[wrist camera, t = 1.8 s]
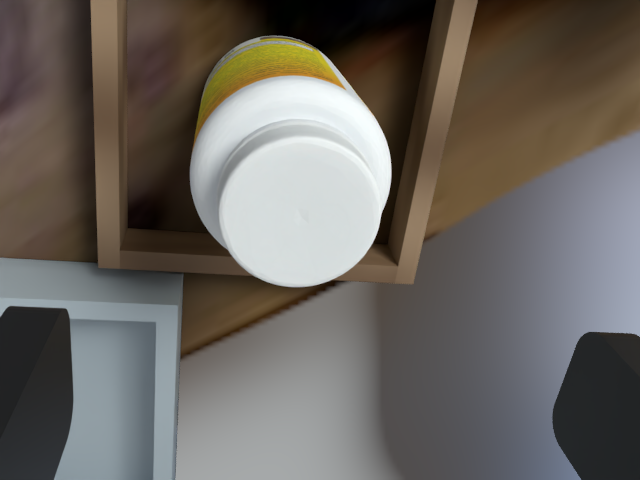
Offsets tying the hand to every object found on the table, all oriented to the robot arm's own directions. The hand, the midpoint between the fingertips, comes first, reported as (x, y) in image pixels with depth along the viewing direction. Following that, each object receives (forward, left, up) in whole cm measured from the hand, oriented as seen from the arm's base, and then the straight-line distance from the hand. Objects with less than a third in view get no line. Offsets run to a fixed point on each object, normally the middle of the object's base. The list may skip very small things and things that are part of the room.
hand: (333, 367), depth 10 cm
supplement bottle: (0, 0, -16) cm, 16 cm away
